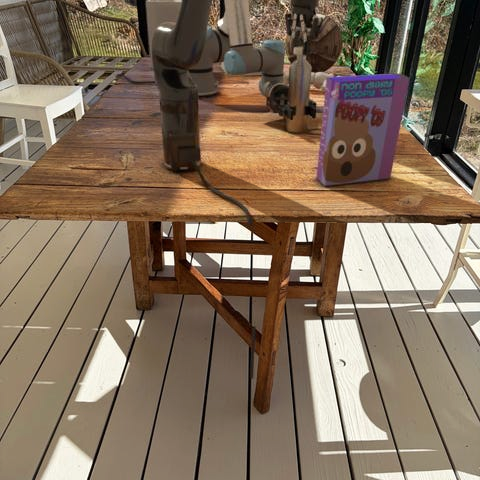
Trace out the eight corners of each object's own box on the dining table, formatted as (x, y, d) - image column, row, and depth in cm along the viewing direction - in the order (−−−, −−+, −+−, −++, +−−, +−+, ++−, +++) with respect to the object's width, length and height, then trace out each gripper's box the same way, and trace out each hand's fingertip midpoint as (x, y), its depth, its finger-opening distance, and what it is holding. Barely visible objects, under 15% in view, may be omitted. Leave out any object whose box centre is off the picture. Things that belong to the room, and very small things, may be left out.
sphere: (341, 70, 223) (348, 11, 211) (336, 82, 203) (343, 17, 190) (288, 66, 229) (292, 9, 216) (278, 77, 208) (281, 14, 196)
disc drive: (278, 75, 213) (279, 63, 210) (229, 76, 208) (229, 64, 206) (267, 67, 228) (267, 55, 225) (221, 68, 223) (221, 57, 220)
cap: (292, 54, 135) (292, 48, 134) (294, 52, 139) (295, 46, 138) (306, 55, 134) (307, 49, 134) (308, 52, 138) (309, 47, 137)
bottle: (306, 126, 150) (312, 49, 139) (307, 133, 145) (313, 53, 133) (286, 126, 151) (290, 49, 139) (285, 132, 145) (290, 53, 134)
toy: (311, 101, 176) (313, 82, 172) (274, 86, 194) (275, 69, 190) (361, 94, 186) (364, 75, 182) (322, 80, 204) (323, 63, 201)
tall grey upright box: (195, 63, 233) (193, -1, 218) (192, 69, 220) (189, 2, 206) (156, 62, 233) (152, -2, 219) (150, 68, 221) (145, 1, 206)
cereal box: (324, 186, 112) (336, 81, 99) (316, 178, 116) (326, 76, 103) (390, 178, 116) (409, 77, 103) (379, 171, 120) (397, 72, 107)
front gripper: (334, -13, 125) (327, 56, 134) (299, -16, 135) (294, 49, 143) (313, -12, 121) (307, 59, 130) (278, -15, 131) (275, 51, 140)
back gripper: (306, 104, 164) (332, 125, 144) (251, 107, 160) (271, 129, 140) (308, 82, 160) (335, 100, 140) (252, 84, 156) (272, 103, 137)
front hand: (300, 53), depth 137 cm, fingers closed on cap, 4 cm apart
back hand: (303, 114), depth 140 cm, fingers closed on bottle, 6 cm apart
